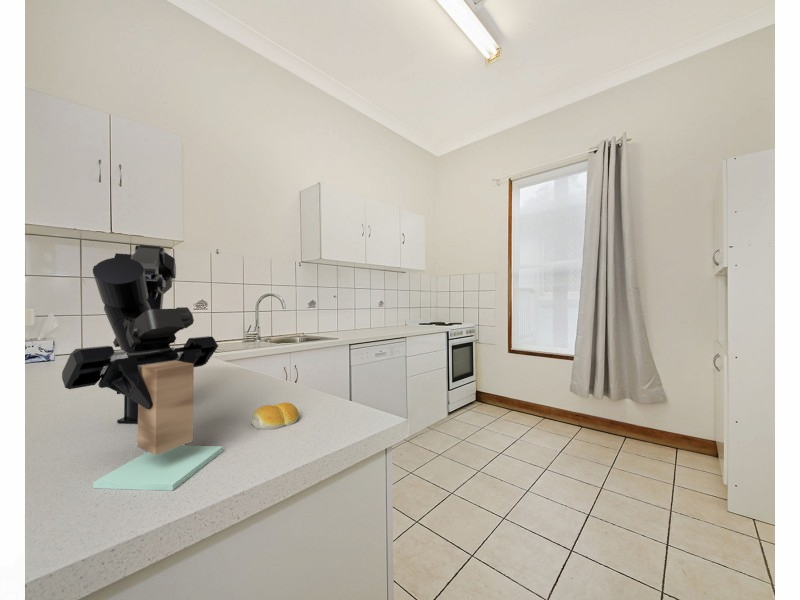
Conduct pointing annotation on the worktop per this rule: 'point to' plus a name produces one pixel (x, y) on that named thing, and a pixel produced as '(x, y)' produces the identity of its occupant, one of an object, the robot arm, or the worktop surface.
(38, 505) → the worktop surface
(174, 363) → the walnut block
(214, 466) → the worktop surface
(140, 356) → the robot arm
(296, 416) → the bread roll
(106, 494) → the worktop surface
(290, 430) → the worktop surface
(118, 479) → the green board
